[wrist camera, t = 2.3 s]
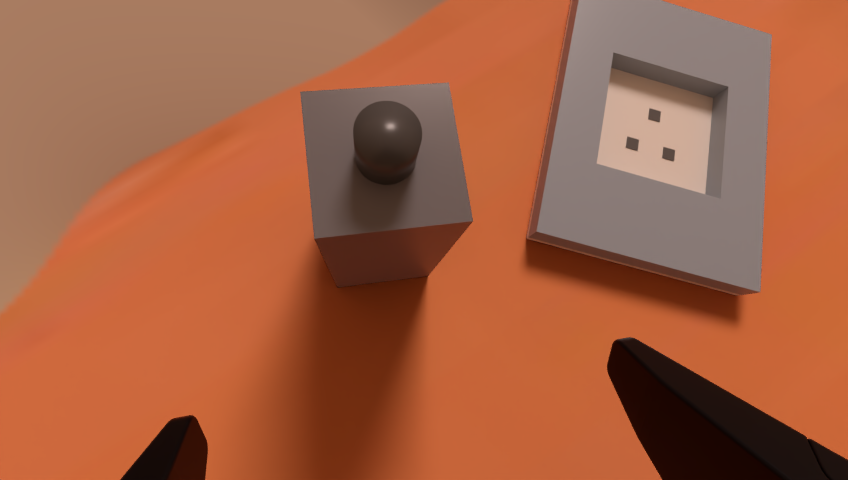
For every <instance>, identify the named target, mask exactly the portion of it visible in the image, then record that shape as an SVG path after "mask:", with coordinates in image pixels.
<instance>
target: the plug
mask: <svg viewBox="0 0 848 480" xmlns="http://www.w3.org/2000/svg"><path fill="white" fill-rule="evenodd" d="M300 93H301V103H302V114H303V124H304V135H305V145H306V156H307V166H308V177H309V187H310V198H311V208H312V219H313V229H314V239H315V241H316V243H317V245H318V247H319V249H320V252H321V254H322V256H323V258H324V260H325V262H326V264H327V266H328V268H329V271H330V273H331V275H332V277H333V279H334V281H335V283H336V285H337V288H338V287H345V286H353V285H361V284H369V283H377V282H385V281H392V280H400V279H408V278H416V277H424V276H428V275H429V274H430V273H431V272H432V271H433V269H434V268H435V267H436V266H437V264H438V263H439V262H440V261H441V260H442V258H443V257H444V256H445V255H446V253H447V252H448V251H449V250H450V249H451V247H452V246H453V245H454V244H455V242H456V241H457V240H458V239H459V238H460V236H461V235H462V234H463V233H464V231H465V230H466V229H467V228H468V227H469V225H470V224H471V223H472V222H473V218H472V213H471V207H470V201H469V196H468V190H467V184H466V179H465V173H464V167H463V161H462V156H461V150H460V144H459V139H458V133H457V127H456V122H455V116H454V110H453V105H452V99H451V93H450V87H449V83H434V84H418V85H402V86H386V87H370V88H354V89H338V90H322V91H306V92H300Z"/></svg>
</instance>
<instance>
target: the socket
mask: <svg viewBox="0 0 848 480" xmlns="http://www.w3.org/2000/svg"><path fill="white" fill-rule="evenodd" d="M771 38H772V35H771V34H768V33H765V32H762V31H759V30H755V29H752V28H749V27H746V26H742V25H739V24H736V23H733V22H729V21H726V20H723V19H720V18H716V17H713V16H710V15H707V14H703V13H700V12H697V11H694V10H690V9H687V8H684V7H681V6H677V5H674V4H671V3H668V2H664V1H661V0H571V3H570V8H569V13H568V19H567V24H566V29H565V35H564V40H563V45H562V51H561V56H560V61H559V67H558V72H557V77H556V83H555V88H554V93H553V99H552V104H551V109H550V115H549V120H548V125H547V131H546V136H545V141H544V147H543V152H542V157H541V163H540V168H539V173H538V179H537V184H536V189H535V195H534V200H533V205H532V211H531V216H530V221H529V227H528V232H527V237H526V239H529V240H533V241H537V242H540V243H544V244H548V245H551V246H555V247H559V248H563V249H566V250H570V251H574V252H577V253H581V254H585V255H588V256H592V257H596V258H600V259H603V260H607V261H611V262H614V263H618V264H622V265H625V266H629V267H633V268H637V269H640V270H644V271H648V272H651V273H655V274H659V275H662V276H666V277H670V278H674V279H677V280H681V281H685V282H688V283H692V284H696V285H699V286H703V287H707V288H711V289H714V290H718V291H722V292H725V293H729V294H733V295H736V296H738V295H745V294H752V293H759V292H760V287H761V264H762V242H763V219H764V196H765V174H766V151H767V128H768V106H769V83H770V60H771Z"/></svg>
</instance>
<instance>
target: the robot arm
mask: <svg viewBox="0 0 848 480" xmlns="http://www.w3.org/2000/svg"><path fill="white" fill-rule="evenodd" d="M607 370H608V374H609V377H610V379H611V381H612V383H613V385H614V388H615V390H616V392H617V394H618V396H619V398H620V401H621V403H622V405H623V407H624V409H625V411H626V414H627V416H628V418H629V420H630V422H631V424H632V427H633V429H634V431H635V433H636V435H637V437H638V439H639V440H640V442H641V444H642V446H643V447H644V449H645V451H646V453H647V454H648V456H649V458H650V459H651V461H652V463H653V464H654V466H655V468H656V470H657V471H658V473H659V475H660V476H661V478H662V480H848V460H847V459H845V458H844V457H842V456H840V455H838V454H836V453H835V452H833V451H831V450H829V449H827V448H826V447H824V446H822V445H820V444H819V443H817V442H815V441H813V440H812V439H807V437H806V436H804V435H803V434H801V433H799V432H798V431H796V430H794V429H792V428H791V427H789V426H787V425H785V424H784V423H782V422H780V421H778V420H777V419H775V418H773V417H771V416H770V415H768V414H766V413H764V412H763V411H761V410H759V409H757V408H756V407H754V406H752V405H750V404H749V403H747V402H745V401H743V400H742V399H740V398H738V397H736V396H735V395H733V394H731V393H729V392H728V391H726V390H724V389H722V388H721V387H719V386H717V385H715V384H714V383H712V382H710V381H708V380H707V379H705V378H703V377H701V376H700V375H698V374H696V373H694V372H693V371H691V370H689V369H687V368H686V367H684V366H682V365H680V364H679V363H677V362H675V361H673V360H672V359H670V358H668V357H666V356H665V355H663V354H661V353H660V352H658V351H656V350H654V349H653V348H651V347H649V346H647V345H646V344H644V343H642V342H640V341H639V340H637V339H635V338H631V337H629V338H623V339H617V340H615V341H614V342H613V344H612V348H611V352H610V356H609V360H608V363H607ZM207 454H208V446H207V440H206V438H205V436H204V434H203V431H202V429H201V427H200V425H199V423H198V421H197V419H196V417H194V416H193V415H189V416H183V417H178V418H174V419H172V420H170V421H169V422H168V423H167V424H166V425H165V426H164V428H163V429H162V430H161V431H160V433H159V434H158V435H157V436H156V437H155V439H154V440H153V441H152V442H151V443H150V445H149V446H148V447H147V448H146V449H145V451H144V452H143V453H142V454H141V455H140V457H139V458H138V459H137V460H136V461H135V463H134V464H133V465H132V466H131V467H130V469H129V470H128V471H127V472H126V473H125V475H124V476H123V477H122V478H121V479H120V480H205V475H206V464H207Z"/></svg>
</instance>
